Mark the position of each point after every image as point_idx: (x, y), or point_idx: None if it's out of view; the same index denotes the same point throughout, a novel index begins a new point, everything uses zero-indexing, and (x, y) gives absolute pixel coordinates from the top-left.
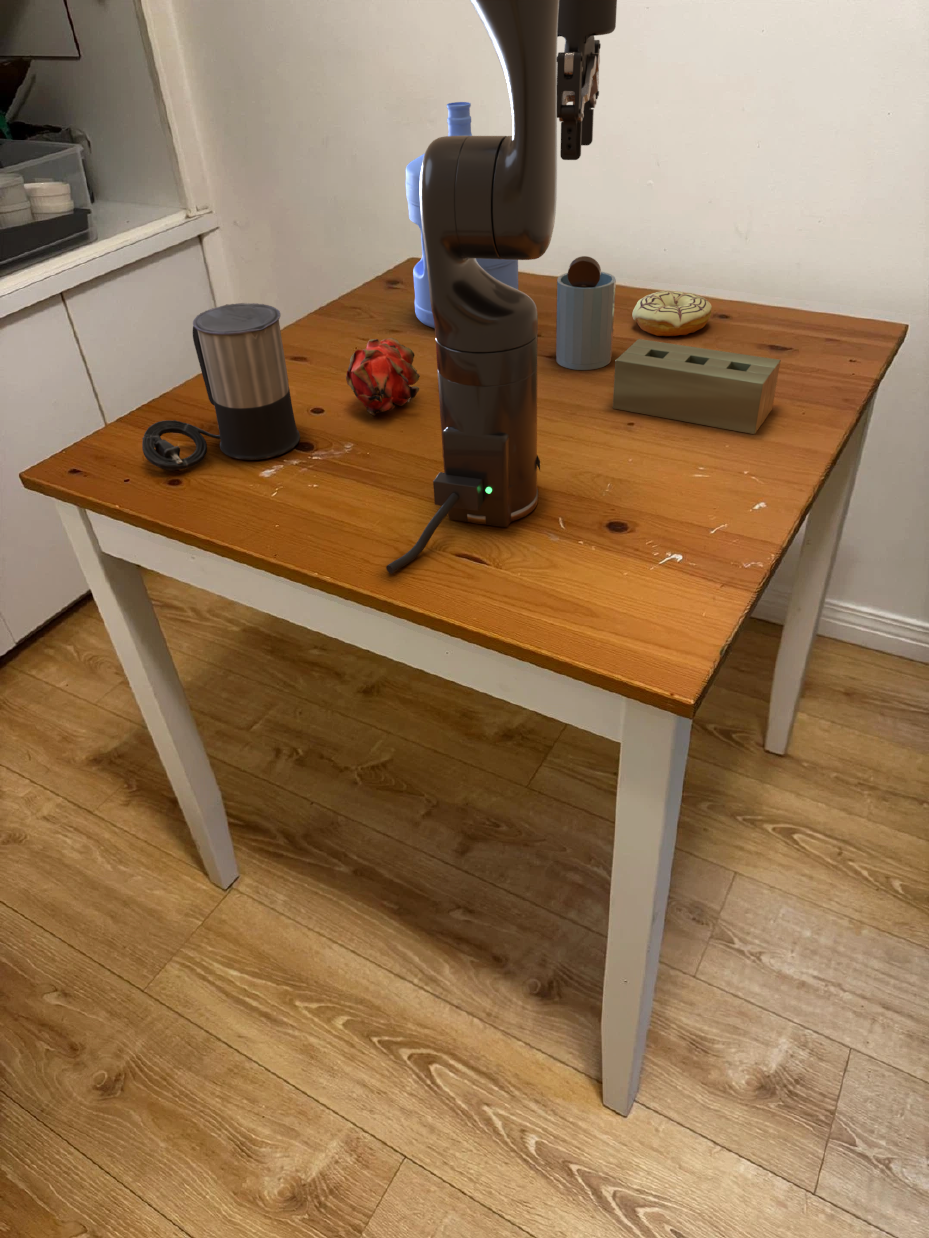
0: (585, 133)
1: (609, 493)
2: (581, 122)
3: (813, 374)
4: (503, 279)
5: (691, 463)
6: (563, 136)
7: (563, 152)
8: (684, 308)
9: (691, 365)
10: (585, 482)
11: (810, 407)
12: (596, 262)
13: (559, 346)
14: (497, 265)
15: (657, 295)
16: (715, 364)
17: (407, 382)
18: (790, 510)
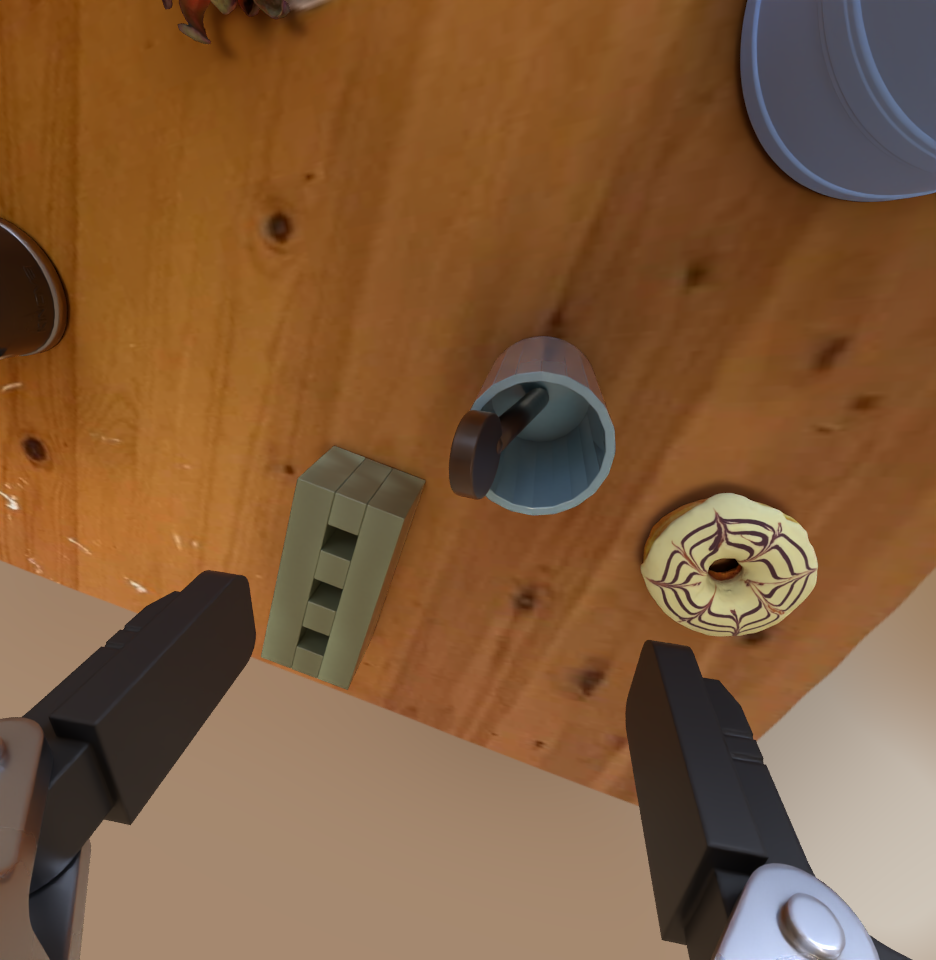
0: (642, 743)
1: (98, 441)
2: (108, 819)
3: (491, 698)
4: (845, 147)
5: (203, 535)
6: (87, 662)
7: (160, 601)
8: (679, 595)
9: (301, 585)
10: (110, 411)
11: (385, 674)
12: (468, 496)
13: (507, 352)
14: (855, 115)
15: (768, 556)
16: (312, 615)
17: (165, 7)
18: (141, 610)
